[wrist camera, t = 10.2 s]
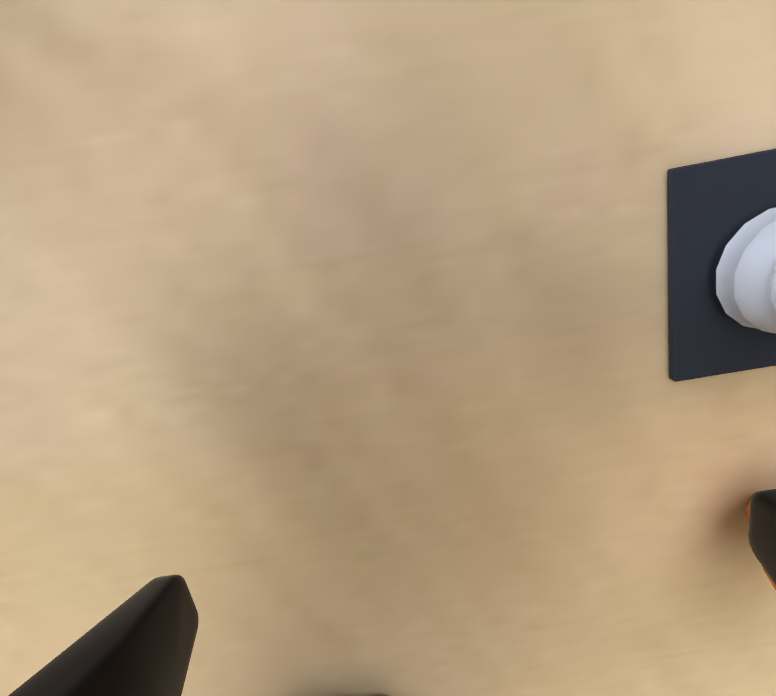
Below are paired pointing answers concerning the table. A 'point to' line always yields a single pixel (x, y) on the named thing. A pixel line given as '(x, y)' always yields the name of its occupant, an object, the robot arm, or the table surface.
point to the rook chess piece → (750, 274)
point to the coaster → (713, 263)
